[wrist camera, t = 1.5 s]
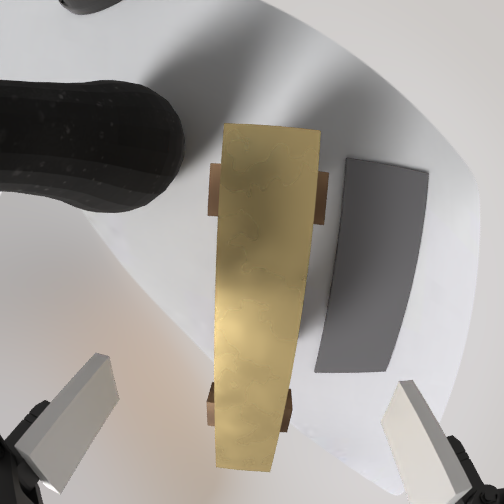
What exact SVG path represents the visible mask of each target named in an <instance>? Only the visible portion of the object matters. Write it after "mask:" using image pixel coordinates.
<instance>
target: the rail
mask: <svg viewBox="0 0 504 504" xmlns="http://www.w3.org/2000/svg"><path fill="white" fill-rule="evenodd" d="M320 135H321V131H319V130H311V129H302V128H293V127H282V126H269V125H254V124H230V123H224V132H223V145H222V159H221V174H220V191H219V209H218V230H217V254H216V284H215V334H214V402H215V449H216V467H220V468H228V469H236V470H247V471H261V472H270V469H271V466H272V462H273V458H274V454H275V449H276V445H277V441H278V437H279V432H280V428H281V423H282V418H283V414H284V409H285V404H286V399H287V394H288V389H289V384H290V379H291V374H292V368H293V363H294V357H295V351H296V346H297V340H298V334H299V327H300V321H301V315H302V308H303V301H304V294H305V287H306V280H307V273H308V265H309V257H310V248H311V240H312V231H313V221H314V212H315V201H316V190H317V178H318V165H319V151H320Z"/></svg>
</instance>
